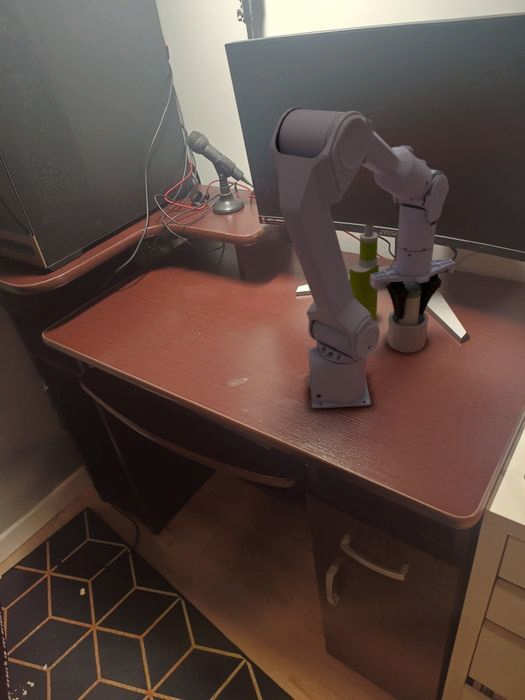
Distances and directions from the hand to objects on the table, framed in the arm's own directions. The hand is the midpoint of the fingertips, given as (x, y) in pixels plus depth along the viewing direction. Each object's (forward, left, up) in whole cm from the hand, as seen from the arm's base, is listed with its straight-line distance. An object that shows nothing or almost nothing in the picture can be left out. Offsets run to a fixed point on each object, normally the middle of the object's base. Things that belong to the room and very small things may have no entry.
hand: (408, 314), depth 84 cm
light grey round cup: (0, 0, -6) cm, 6 cm away
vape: (-7, +8, -6) cm, 12 cm away
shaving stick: (0, 0, -2) cm, 2 cm away
